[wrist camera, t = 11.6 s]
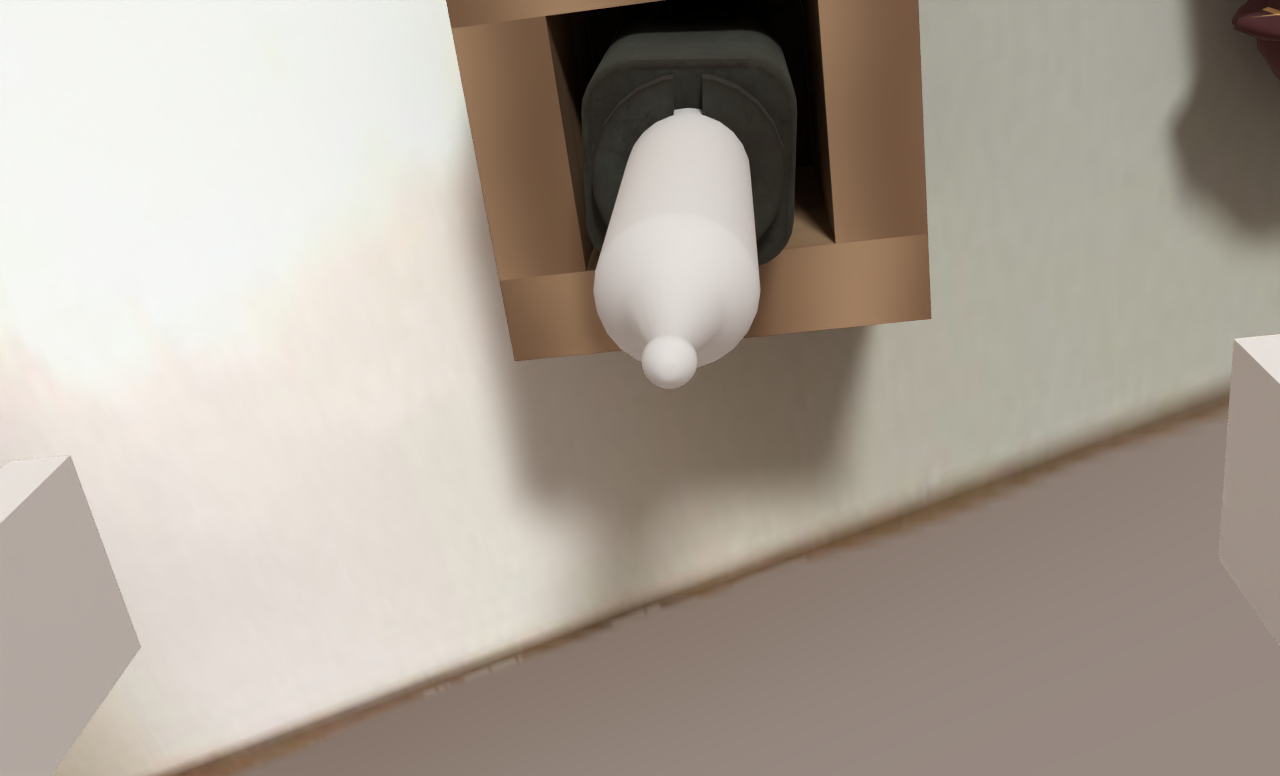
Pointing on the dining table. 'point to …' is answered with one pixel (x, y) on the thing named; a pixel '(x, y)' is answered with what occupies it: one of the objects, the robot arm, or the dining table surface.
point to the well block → (824, 192)
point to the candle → (687, 178)
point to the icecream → (1262, 28)
